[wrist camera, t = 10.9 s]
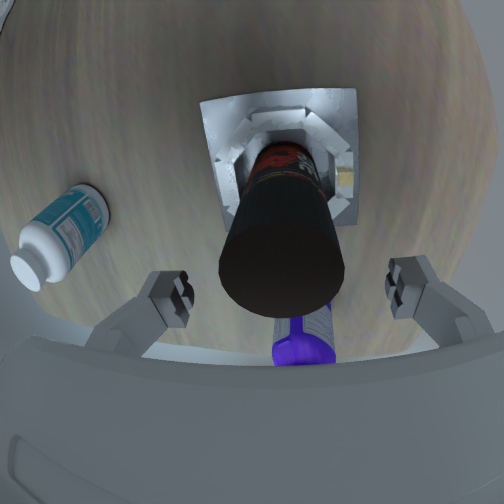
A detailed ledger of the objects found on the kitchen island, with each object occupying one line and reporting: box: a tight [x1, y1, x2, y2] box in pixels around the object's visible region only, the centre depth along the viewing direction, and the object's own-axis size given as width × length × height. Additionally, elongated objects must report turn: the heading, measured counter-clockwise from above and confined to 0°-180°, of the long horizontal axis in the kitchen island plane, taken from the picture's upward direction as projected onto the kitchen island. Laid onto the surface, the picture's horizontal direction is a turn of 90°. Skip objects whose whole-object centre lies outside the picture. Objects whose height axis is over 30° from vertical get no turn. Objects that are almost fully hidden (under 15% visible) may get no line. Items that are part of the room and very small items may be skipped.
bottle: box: [272, 302, 336, 366], centre depth 27 cm, size 7×6×17 cm
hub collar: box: [199, 88, 359, 232], centre depth 22 cm, size 14×14×5 cm
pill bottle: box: [11, 185, 109, 291], centre depth 25 cm, size 8×7×14 cm
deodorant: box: [219, 141, 345, 319], centre depth 19 cm, size 6×6×15 cm
